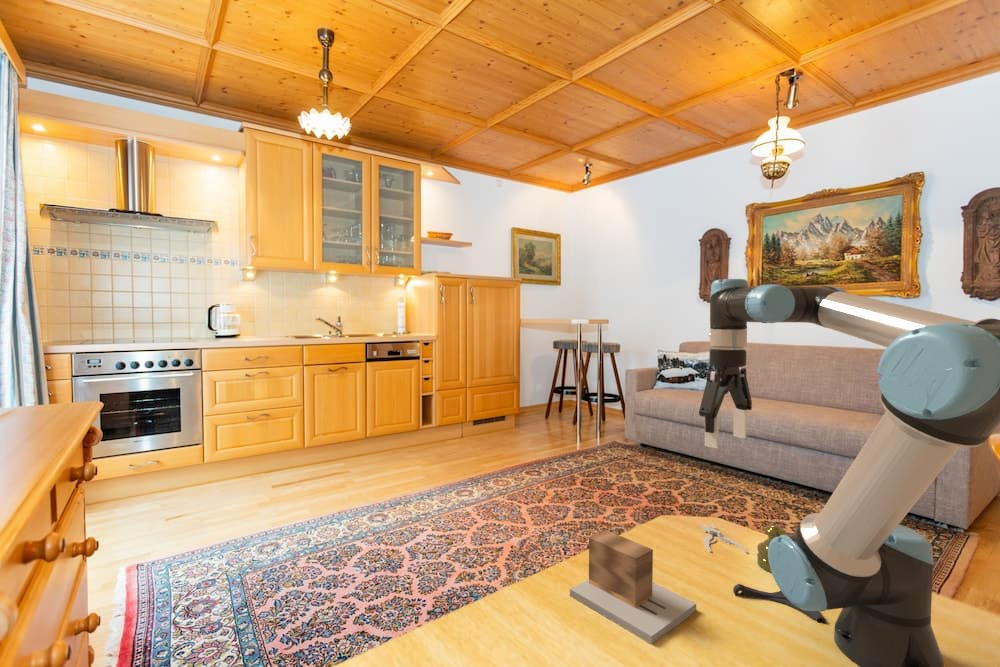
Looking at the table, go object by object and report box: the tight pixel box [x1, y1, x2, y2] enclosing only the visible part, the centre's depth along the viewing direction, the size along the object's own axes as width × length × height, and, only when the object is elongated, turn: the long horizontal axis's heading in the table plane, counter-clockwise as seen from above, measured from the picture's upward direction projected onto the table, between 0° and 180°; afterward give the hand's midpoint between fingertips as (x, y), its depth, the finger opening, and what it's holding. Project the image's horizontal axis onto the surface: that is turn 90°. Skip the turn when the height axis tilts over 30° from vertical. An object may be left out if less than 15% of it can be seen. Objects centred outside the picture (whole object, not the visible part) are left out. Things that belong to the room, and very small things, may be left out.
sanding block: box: [588, 529, 654, 608], centre depth 103 cm, size 12×6×10 cm, turn 40°
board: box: [569, 578, 697, 645], centre depth 101 cm, size 20×16×2 cm
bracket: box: [732, 583, 827, 624], centre depth 103 cm, size 14×15×3 cm
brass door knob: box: [756, 524, 788, 573], centre depth 116 cm, size 7×8×10 cm
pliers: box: [700, 522, 749, 554], centre depth 130 cm, size 10×2×15 cm
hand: (726, 442), depth 109 cm, fingers open, 13 cm apart
